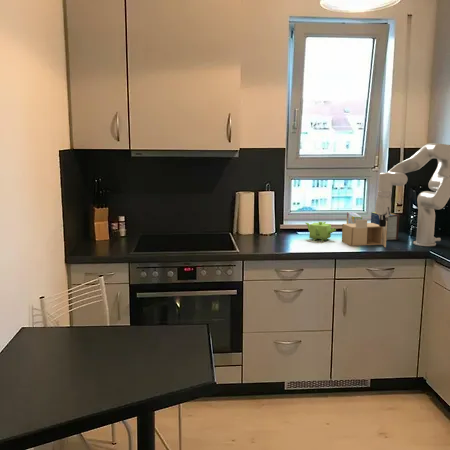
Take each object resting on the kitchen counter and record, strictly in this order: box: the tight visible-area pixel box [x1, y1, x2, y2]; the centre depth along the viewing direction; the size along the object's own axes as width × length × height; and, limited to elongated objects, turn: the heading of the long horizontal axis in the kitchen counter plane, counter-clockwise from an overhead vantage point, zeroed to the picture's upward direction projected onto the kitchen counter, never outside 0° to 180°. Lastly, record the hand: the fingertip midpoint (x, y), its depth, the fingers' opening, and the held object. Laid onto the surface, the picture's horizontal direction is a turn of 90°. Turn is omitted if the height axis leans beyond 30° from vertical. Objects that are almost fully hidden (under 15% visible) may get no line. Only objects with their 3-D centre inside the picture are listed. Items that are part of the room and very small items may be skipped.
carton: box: [341, 222, 383, 247], centre depth 316 cm, size 20×12×11 cm, turn 103°
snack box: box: [346, 211, 363, 224], centre depth 332 cm, size 21×6×15 cm, turn 179°
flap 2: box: [382, 221, 387, 248], centre depth 307 cm, size 9×1×15 cm, turn 175°
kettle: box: [305, 221, 337, 242], centre depth 326 cm, size 15×14×11 cm
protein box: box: [370, 211, 400, 241], centre depth 333 cm, size 10×15×16 cm
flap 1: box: [351, 219, 368, 247], centre depth 308 cm, size 9×1×15 cm, turn 103°
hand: (382, 226), depth 303 cm, fingers closed
